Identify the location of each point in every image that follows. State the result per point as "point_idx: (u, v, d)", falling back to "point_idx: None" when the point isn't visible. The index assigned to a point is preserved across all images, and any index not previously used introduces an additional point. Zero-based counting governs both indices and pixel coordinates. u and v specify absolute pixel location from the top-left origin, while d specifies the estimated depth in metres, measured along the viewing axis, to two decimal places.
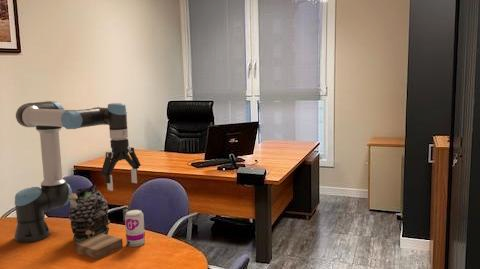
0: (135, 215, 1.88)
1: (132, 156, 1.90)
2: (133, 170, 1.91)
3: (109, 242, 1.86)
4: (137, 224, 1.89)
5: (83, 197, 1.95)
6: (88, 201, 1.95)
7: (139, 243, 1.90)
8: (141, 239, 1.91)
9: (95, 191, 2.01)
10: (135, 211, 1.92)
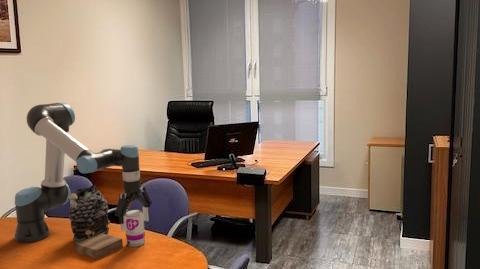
0: (135, 215, 1.88)
1: (144, 195, 1.96)
2: (145, 209, 1.96)
3: (109, 242, 1.86)
4: (137, 224, 1.89)
5: (83, 197, 1.95)
6: (88, 201, 1.95)
7: (139, 243, 1.90)
8: (141, 239, 1.91)
9: (95, 191, 2.01)
10: (135, 211, 1.92)
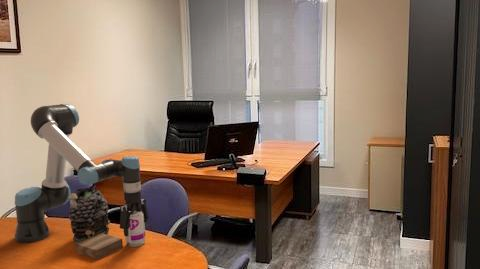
0: (135, 215, 1.88)
1: (143, 208, 1.96)
2: None
3: (109, 242, 1.86)
4: (137, 224, 1.89)
5: (83, 197, 1.95)
6: (88, 201, 1.95)
7: (139, 243, 1.90)
8: (141, 239, 1.91)
9: (95, 191, 2.01)
10: (135, 211, 1.92)
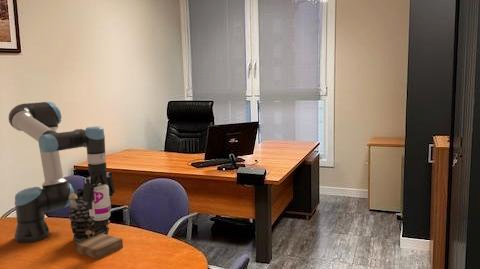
0: (99, 188, 1.81)
1: (108, 181, 1.89)
2: None
3: (109, 242, 1.86)
4: (102, 197, 1.81)
5: None
6: None
7: (104, 217, 1.83)
8: (106, 213, 1.84)
9: None
10: (100, 184, 1.85)
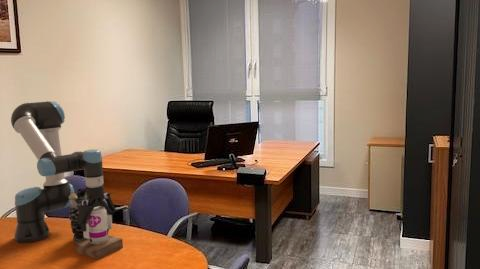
0: (97, 212, 1.82)
1: (108, 202, 1.90)
2: (108, 216, 1.90)
3: (109, 242, 1.86)
4: (99, 221, 1.82)
5: (83, 197, 1.95)
6: None
7: (102, 241, 1.83)
8: (104, 236, 1.84)
9: None
10: (98, 208, 1.86)
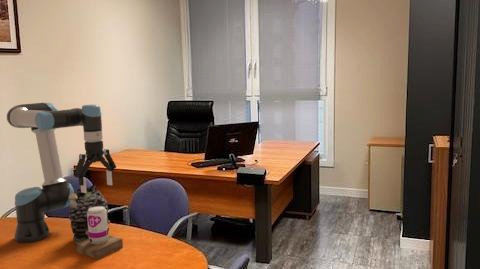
0: (97, 212, 1.82)
1: (107, 158, 1.88)
2: (108, 172, 1.89)
3: (109, 242, 1.86)
4: (99, 221, 1.82)
5: (83, 197, 1.95)
6: (88, 201, 1.95)
7: (102, 241, 1.83)
8: (104, 237, 1.84)
9: (95, 191, 2.01)
10: (98, 208, 1.86)
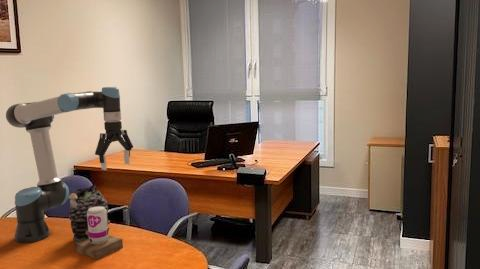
0: (97, 212, 1.82)
1: (125, 138, 1.99)
2: (126, 151, 1.99)
3: (109, 242, 1.86)
4: (99, 221, 1.82)
5: (83, 197, 1.95)
6: (88, 201, 1.95)
7: (102, 241, 1.83)
8: (104, 237, 1.84)
9: (95, 191, 2.01)
10: (98, 208, 1.86)
